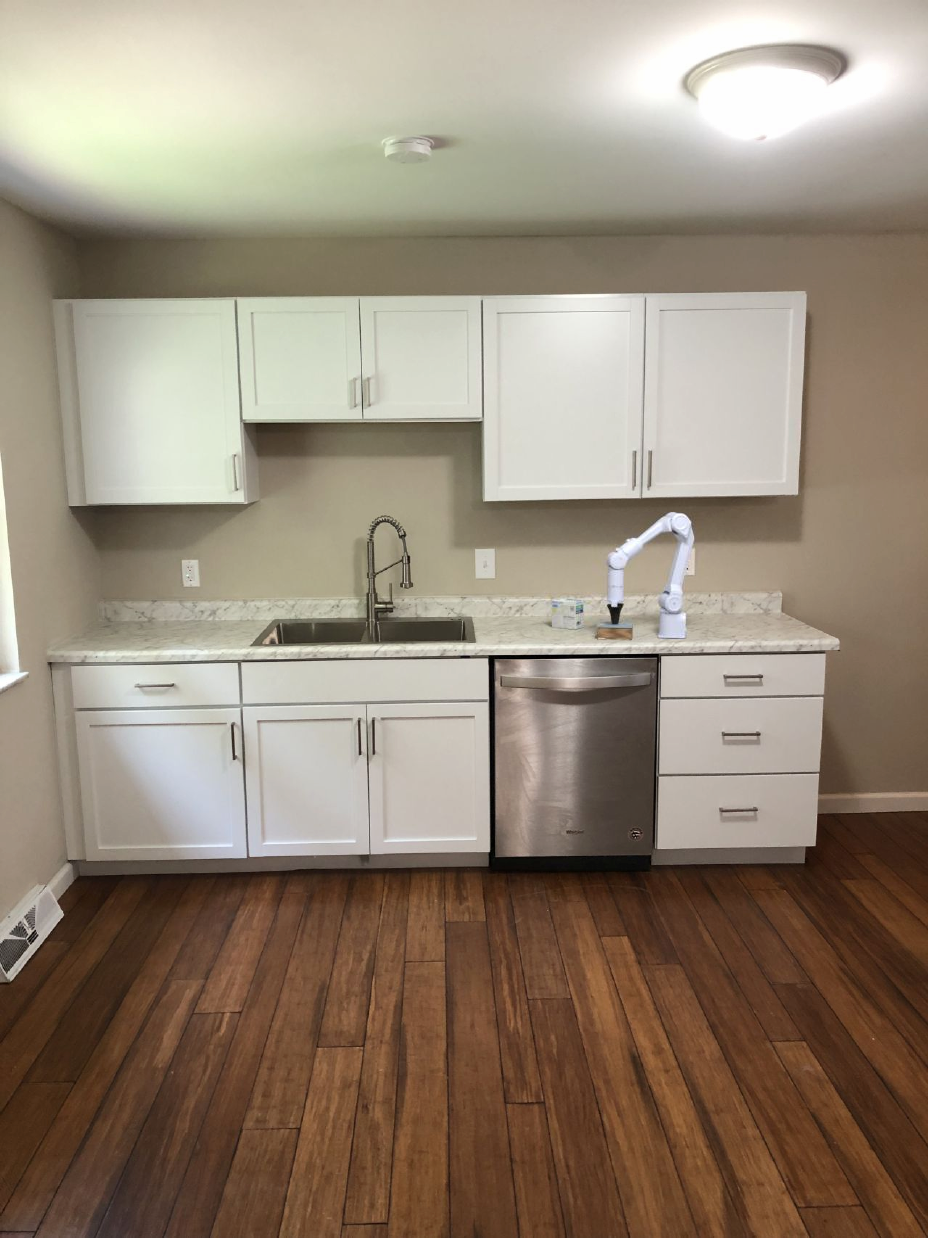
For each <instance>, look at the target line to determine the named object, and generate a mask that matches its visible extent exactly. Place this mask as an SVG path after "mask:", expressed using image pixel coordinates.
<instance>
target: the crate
mask: <svg viewBox="0 0 928 1238" xmlns="http://www.w3.org/2000/svg"><path fill="white" fill-rule="evenodd" d="M633 628H634V626H632V628H602V627H597V629H596V630H597V633H596V634H597V636H596V637H597V638H605V639H629V640H628V641H632V640H633V636H634V635H633V634H634V633H633V631H634V630H633ZM597 638H596V639H597ZM605 639H604V640H605Z"/></svg>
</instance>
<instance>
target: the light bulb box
mask: <svg viewBox="0 0 928 1238" xmlns="http://www.w3.org/2000/svg"><path fill="white" fill-rule="evenodd" d="M584 602H585V601H584V599H577V598H575V599H573V598H561V597H559V598H555V599H551V628H556V629H566V630H579V629H582V628H584V626H585V625H584V623H585V621H584V617H585V616H584V615H585V614H584V611H585V610H584V605H585V604H584Z"/></svg>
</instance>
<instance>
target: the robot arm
mask: <svg viewBox="0 0 928 1238" xmlns="http://www.w3.org/2000/svg"><path fill="white" fill-rule="evenodd" d="M668 532H672V533H673V535H674V536H675V538H676V539H677V545H676V548H675V553H674V556H673V560H672V563H671V566H670V567H671V568H670V572H669V575H668V580H667V582H666V584H665V586H664V587H663V588H662V589H663V590H662V592H661V593H660V594H659V596H658V598H657V603H658V605H659V607H660V609H659V624H658V625H659V627H658V629H659V631H658V633H657V637H658V638H659V639H660V638H661V639H686V634H687V627H686V625H687V621H686V620H687V613H686V612H683V611H682V612H681V609H682V608H683V605H684V603H683V594H684V592H683V588H682V586H683V583H684V579H685V575H686V572H687V568H688V564H689V561H690V557H691V552H692V549H693V546H694V543H695V535H694V531H693V529H692V521H691V520H690V519H689V517H688V516H687V515H686V514H684V513H679V512H676V511H675V512H674V511H673V512H671V511H670V512H668V513H666V514H665V516H662V517H661V518H660V519H658V520H657V521H656V522H655V523H653V524H652V525H651V526H650V527H648V529H646V530H645V531H644V532H643V533H641V534H640V535H639V536H638V537H631V538H627V539H626V540H625V543H623V544H622V545H621V546H620V547H616V548H615V551H612V552H609V553H608V555H607V557H606V559H605V564H606V565H607V584H606V585H607V594H606V595H607V596H606V597H604V598H603V601H607V602H609V603H607V605H606V608H607V609H608V611H609V614H610V622H612V624H618V623H619V622H620V617H621V612H622V609H623V607H624V603H622V602H624V601H625V597H624V596H625V591H624V589H625V588H624V587H625V585H624V584H625V573H624V572H625V567H626V565H627V562H629V561H631V560H632V559H633V558H634V557H636V556H637V555H639V554H640V553H641V552H642V551H643V548H644V545H646V544H647V543H649V542H650V541H651V540H653V539H654V538H656V537H658V535H660V534H662V533H668ZM658 638H657V639H658Z"/></svg>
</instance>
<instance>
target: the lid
mask: <svg viewBox="0 0 928 1238" xmlns="http://www.w3.org/2000/svg"><path fill="white" fill-rule="evenodd" d="M633 625H634V622H625V621H621V622H620V621H619V623H618V624H612V622H611V621H598V624H597V628H598V627H602V628H632V626H633ZM633 627H634V626H633Z"/></svg>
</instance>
